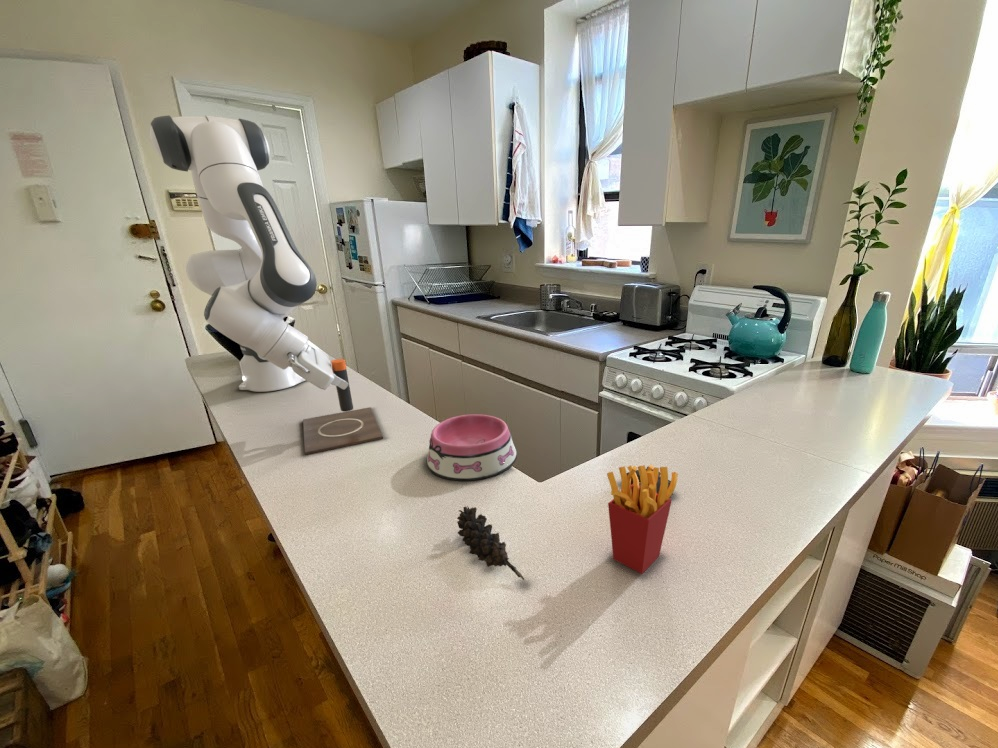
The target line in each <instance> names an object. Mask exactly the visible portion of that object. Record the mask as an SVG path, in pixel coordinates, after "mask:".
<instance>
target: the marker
mask: <svg viewBox="0 0 998 748" xmlns="http://www.w3.org/2000/svg"><path fill="white" fill-rule="evenodd" d="M330 363H331V366H332V369H333V373H334V374H335V375H336V376H338V377H339V378H341V379H344V380H345V381H347V382H348V387H347V388H346V389H341V388H340V387H338V386H335V388H336V393H337V398H338V404H339V407H340V409H339V410H340V411H341V412H347V411H353V410H354V404H353V399H352V392H351V387H350V382H349V377H348V376H349V375H348V371H347V364H346V363H347V362H346V360H345V359H344V358H337V359H333V360H330Z"/></svg>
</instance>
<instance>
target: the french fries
mask: <svg viewBox="0 0 998 748" xmlns="http://www.w3.org/2000/svg"><path fill="white" fill-rule="evenodd" d="M647 467H648V466H647ZM627 469H628V472H629V474H628V476H627V473H628V472H627ZM627 469H626V466H625V465H624V466H620V467H618V471H619V475H620V479H621V483H620V485H621V488H620V490H619V487H618V484H617V480H616V477H615V474H614V471H609V472H607V473H606V476H607V479H608V483H609V486H610V488H611V493H610V495H611V496H613V497H612V498H613V499H611V500H610V501H609V502H608V503H607V504H608V505H607V507H608V516H609V517H608V518H609V527H610V528H609V529H610V538H611V548H612V559H613V560H615V561H616V562H618V563H620V564H622V565H623V566H626V567H627V568H630V569H631V570H633V571H635V572H637V573H639V574H641V575H643V574H644V573H645V572H646V571H647V569H648V568H650V566H651V565H652V564H653V563H654V562H655V561H656V560H657V559H658V558H659V557H660V554H661V550H662V545H663V540H664V536H665V532H666V528H667V523H668V519H669V515H670V510H671V506H672V501H673V499H671V496H673V495H672V493H673V494H674V491H675V489H676V488H677V484H678V483H677V482H678V473H677V472H676V471H673V472H671V477H670V478H671V479H670V481H671V483H670V486H669V488H668V480H669V471H668V466H660V467H655V466H654V465H652V464H650V465H649V467H648V469H647V468H646V466H645V465H644V464H643V465H638V466H635V465H633V466H632V465H629V466H627ZM646 469H647V470H646ZM652 469H653V471H651V470H652ZM636 470H638V471H639V474H640V480H641V482H640V483H639V480H638V477H637V475H636V473H635V472H636ZM659 472H660V475H661V485H660V490H659V494H657V493H656V483H657V481H658V474H659ZM631 477H632V478H633V484H632V485H631ZM648 482H649V486H648ZM667 488H668V489H667Z"/></svg>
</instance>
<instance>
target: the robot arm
mask: <svg viewBox="0 0 998 748" xmlns="http://www.w3.org/2000/svg"><path fill="white" fill-rule="evenodd" d="M149 139H150V143H151V146H152V148H153V150H154V151H155V153H156V154H157V156H158V157H159V159H161V160H162V162H163V164H164V165H166V166H168V167H169V168H170V169H172V170H176V171H181V172H187V173H188V172H189V171H191V177H192V182H193V186H194V187H193V188H194V191H195V193H196V197H197V199H198V203H199V207H200V210H201V213H202V216H203V220H204V222H205V225H206V226H207V228H208V229H209V230H210V231H211V232H213V233H214V234H216V235H218V236H220V237H221V238H224V239H228V240H230V241H233V242H235V243H236V244H238V245H239V246H240V247H241V248H238V249H219V250H218V249H217V250H216V249H215V250H208V251H202V252H198V253H194V254H191V255H190V256H189V257H188V259H187V261H186V265H185V272H186V276H187V278H188V279H189V281H190V282H191V284H192V285H193V286H194V287H195V288H196V289H198V290H199V291H201V292H203V293H206V294H208V295H209V296H210V298H209V300H208V301H207V303H206V305H205V308H204V311H203V317H204V319H205V321H206V322H207V324H209V325H210V326H211V327H212V328H213V329H215V330H216V331H218V333H220V334H222V335H223V336H225V337H226V338H228V339H230V340H231V341H233V342H235V343H237V344H238V345H239V347H240V350H241V353H242V355H243V357H242V358H241V359H240V361H239V362H238V363H239V367H240V368H239V369H240V371H241V375H242V376H241V377H242V382H241V383H240V384H239V385H238V390H240V391H251V392H256V393H257V392H258V393H260V392H261V393H262V392H273V391H278V390H285V389H288V388H291V387H294V386H297V385H298V384H300V383H303V382H306V381H307V382H308V383H310V384H312V385H313V386H315V387H317V388H318V389H320V390H322V391H323V390H324V391H326V390H327V389H328V388H329V387H330V386H331V385H333V386H335V387H336V386H338V387H340V388H341V389H346V388H347V387H348V382H347V381H345V380H344V379H341V378H339V377H338V376H336V375H335V374H334V373H333V369H332V364H331V360H330V357H329V355H328V354H327V353H326V352H325V351H324V350H322V349H321V348H319V347H318V345H316V344H314V343H313V342H311V341H310V340H309V336H307V335H305V334H304V333H303V332H301V331H300V330H298V329H296V328H295V327H293V326H291V324H288V322H286V321H285V320H284V319H285V318H286V317H287V316H289V315H290V314H291V313H293V312H294V311H295V310H296V309H297V308H298V307H299V306H300V305H302V304H304V303H306V302H307V301H309V300H311V299H312V298H313V296H314V295H315V293H316V291H317V278H316V275H315V272H314V271H313V269H312V267H311V266H310V265H309V263H308V262H307V260H306V259H305V258H304V257H303V256H302V254H301V252H300V251H299V250H298V247H297V246H296V244H295V242H294V240H293V238H292V235H291V233H290V231H289V228H288V227H287V225H286V222H285V220H284V218H283V216H282V213H281V211H280V210H279V208H278V205H277V203H276V202H275V200H274V198H273V197H272V195H271V193H270V192H269V191H268V190H267V189H266V188H265V187H264V184H263V182H262V179H261V176H260V173H259V171H261V170H265V168H266V167H267V166H268V165H269V164H270V155H271V151H270V150H271V149H270V144H269V142H268V140H267V137H266V136H265V134H264V132H263V130H262V128H261V127H260V126H259V125H258V124H256V122H253V121H251V120H248V119H243V118H238V119H235V118H229V117H224V116H216V115H204V116H203V115H202V116H201V115H186V116H185V115H183V116H181V115H180V116H171V115H162V116H161V115H160V116H157V117H156V116H155V117H154V118H153V119H152V120H151V122H150V129H149Z"/></svg>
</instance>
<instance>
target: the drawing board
mask: <svg viewBox="0 0 998 748" xmlns="http://www.w3.org/2000/svg"><path fill="white" fill-rule="evenodd" d="M302 427H303V444H304V445H303V446H304V455H305V456H306V455H307V456H308V455H311V454H317V453H321V452H326V451H330V450H331V451H332V450H335V449H341V448H346V447H349V446H354V445H360V444H363V443H369V442H373V441H378V440H382V439H384V435H383V433H382V431H381V429H380V427H379V424H378V422H377V419H376V417H375V414H374V412H373V410H372V407H371V406H370V407H366V408H358V409H353V410H350V411H341V412H336V413H332V414H325V415H322V416H321V415H319V416H315V417H310V418H309V417H308V418H303V419H302Z"/></svg>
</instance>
